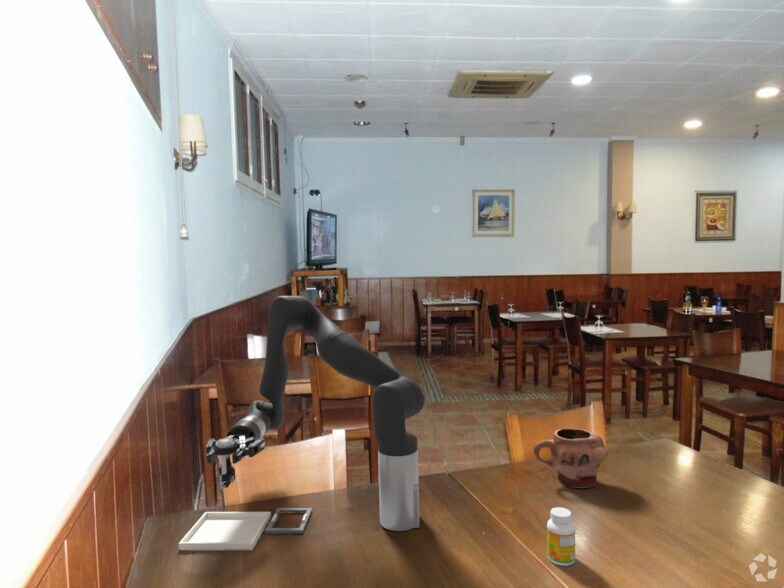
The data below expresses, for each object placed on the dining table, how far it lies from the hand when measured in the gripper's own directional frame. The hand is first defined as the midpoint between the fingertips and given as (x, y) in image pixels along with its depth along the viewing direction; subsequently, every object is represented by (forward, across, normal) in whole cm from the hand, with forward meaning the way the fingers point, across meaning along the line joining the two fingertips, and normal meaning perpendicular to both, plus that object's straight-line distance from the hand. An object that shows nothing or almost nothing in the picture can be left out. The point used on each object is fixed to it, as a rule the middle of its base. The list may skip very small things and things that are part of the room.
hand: (221, 459), depth 113 cm
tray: (-1, 0, +18) cm, 18 cm away
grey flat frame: (-6, +13, +18) cm, 23 cm away
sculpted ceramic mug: (-28, +85, +18) cm, 91 cm away
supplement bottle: (+8, +72, +18) cm, 75 cm away
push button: (-2, 0, +7) cm, 7 cm away
